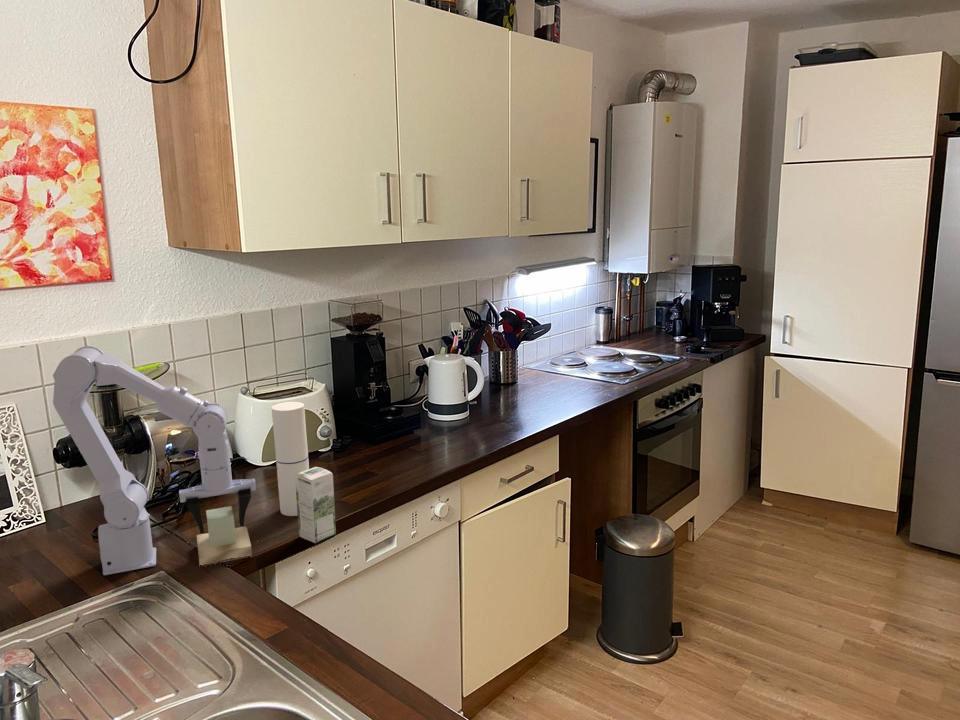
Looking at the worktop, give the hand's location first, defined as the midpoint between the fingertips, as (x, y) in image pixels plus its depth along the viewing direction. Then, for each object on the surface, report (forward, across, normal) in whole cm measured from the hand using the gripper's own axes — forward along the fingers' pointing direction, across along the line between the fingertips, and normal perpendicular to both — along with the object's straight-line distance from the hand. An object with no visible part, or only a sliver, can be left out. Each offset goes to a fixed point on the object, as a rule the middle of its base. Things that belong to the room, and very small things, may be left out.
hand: (222, 528), depth 153 cm
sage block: (+3, 0, 0) cm, 3 cm away
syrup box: (+5, -19, +1) cm, 20 cm away
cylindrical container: (+5, -17, -15) cm, 23 cm away
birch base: (+6, 0, 0) cm, 6 cm away
